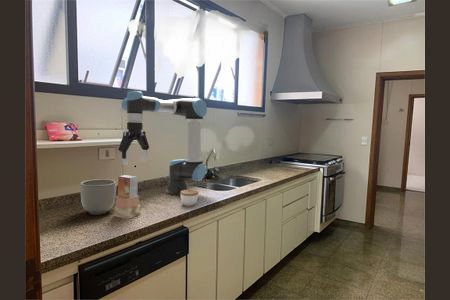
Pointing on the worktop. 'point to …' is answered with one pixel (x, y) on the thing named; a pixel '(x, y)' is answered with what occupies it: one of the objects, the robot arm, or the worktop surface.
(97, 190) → the planter
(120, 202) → the terracotta block
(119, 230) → the worktop surface
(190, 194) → the lidded jar
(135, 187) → the small box
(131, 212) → the clear square container
